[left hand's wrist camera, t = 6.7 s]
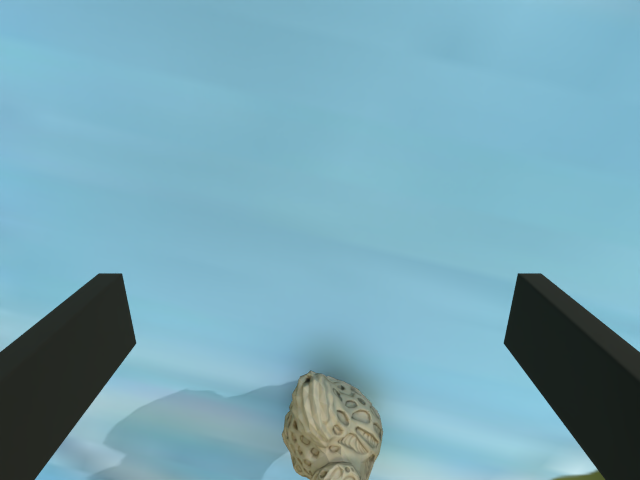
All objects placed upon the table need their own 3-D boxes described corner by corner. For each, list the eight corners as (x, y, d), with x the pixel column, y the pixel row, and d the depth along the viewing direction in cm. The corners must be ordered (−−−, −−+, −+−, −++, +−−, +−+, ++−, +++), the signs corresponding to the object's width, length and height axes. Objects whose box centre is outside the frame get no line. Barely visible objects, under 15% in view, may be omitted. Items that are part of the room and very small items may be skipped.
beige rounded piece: (268, 344, 46) (245, 452, 32) (360, 326, 46) (378, 428, 32) (309, 467, 54) (305, 598, 40) (389, 453, 53) (414, 583, 39)
